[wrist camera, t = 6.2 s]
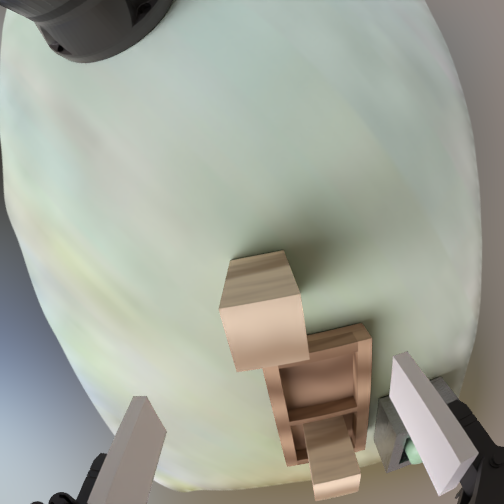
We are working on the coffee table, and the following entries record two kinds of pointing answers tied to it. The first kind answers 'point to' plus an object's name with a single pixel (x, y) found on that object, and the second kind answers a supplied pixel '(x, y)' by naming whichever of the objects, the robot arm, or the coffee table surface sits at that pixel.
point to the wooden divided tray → (323, 389)
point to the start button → (412, 452)
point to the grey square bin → (399, 428)
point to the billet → (263, 312)
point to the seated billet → (331, 458)
